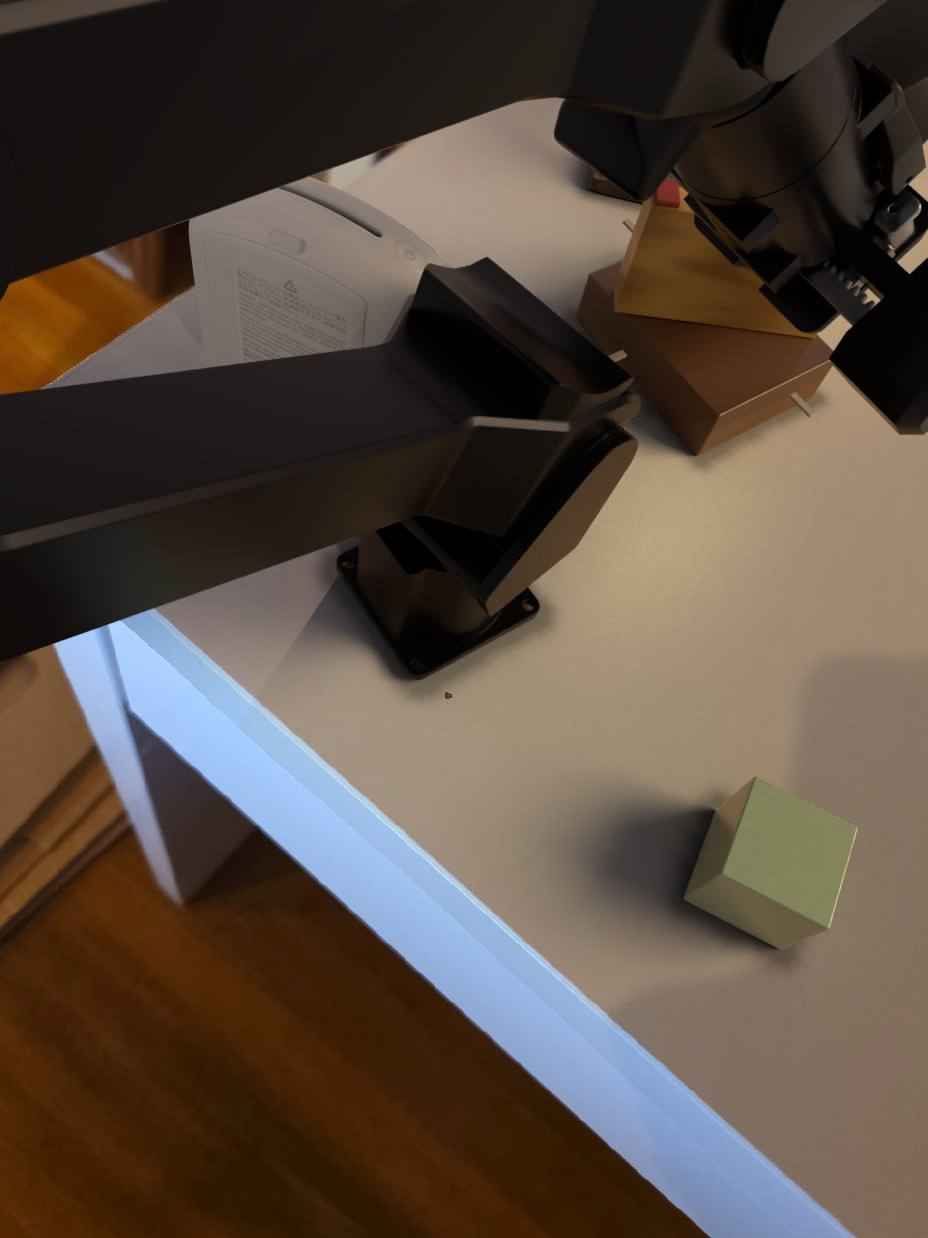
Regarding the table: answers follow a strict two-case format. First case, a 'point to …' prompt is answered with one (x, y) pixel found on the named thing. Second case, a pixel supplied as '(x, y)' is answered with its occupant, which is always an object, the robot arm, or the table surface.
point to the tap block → (704, 366)
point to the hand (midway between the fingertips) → (835, 277)
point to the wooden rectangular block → (688, 273)
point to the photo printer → (300, 274)
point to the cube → (772, 865)
